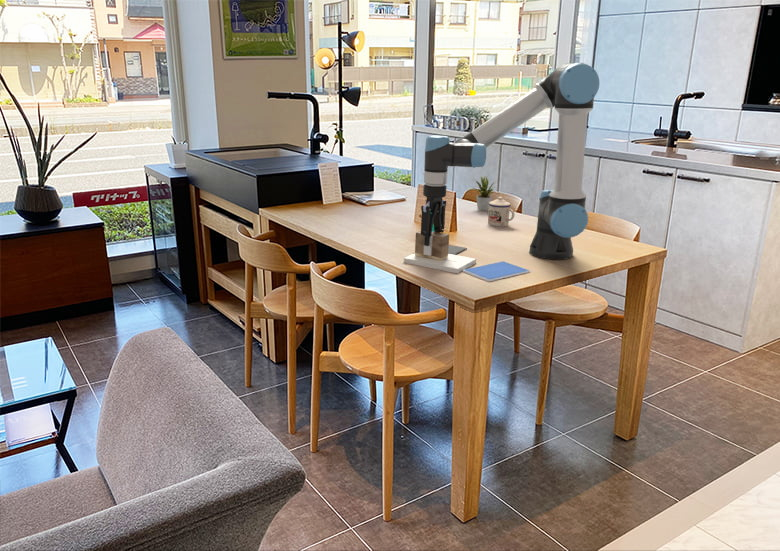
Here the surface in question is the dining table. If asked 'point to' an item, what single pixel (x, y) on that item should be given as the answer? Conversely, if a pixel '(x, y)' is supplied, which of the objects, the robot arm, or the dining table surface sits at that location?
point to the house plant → (483, 194)
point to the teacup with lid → (499, 212)
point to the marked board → (442, 262)
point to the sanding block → (433, 246)
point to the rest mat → (455, 249)
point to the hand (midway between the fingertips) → (431, 252)
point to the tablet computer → (496, 271)
